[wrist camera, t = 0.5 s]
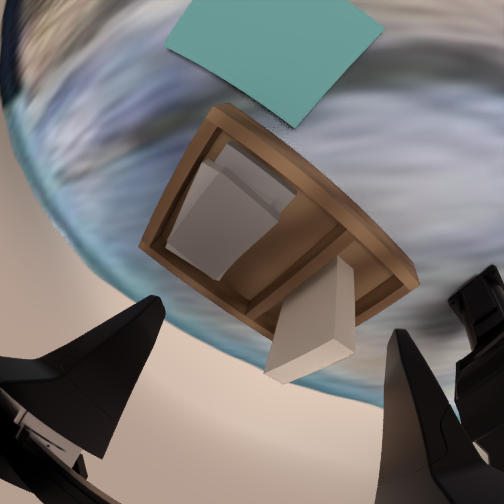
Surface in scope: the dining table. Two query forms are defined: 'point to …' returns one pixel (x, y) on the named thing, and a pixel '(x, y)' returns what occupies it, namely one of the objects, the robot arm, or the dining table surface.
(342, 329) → the beige rectangular block
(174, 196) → the wooden divided tray
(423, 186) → the dining table surface
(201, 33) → the mat
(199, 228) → the offcut stack
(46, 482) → the robot arm
